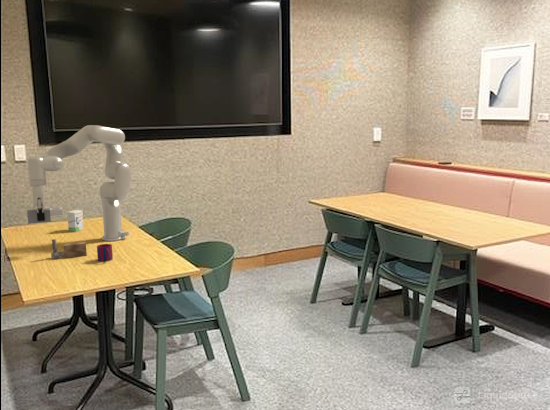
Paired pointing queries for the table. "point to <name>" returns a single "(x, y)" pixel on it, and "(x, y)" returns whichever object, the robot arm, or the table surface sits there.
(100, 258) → the mug
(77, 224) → the ink box
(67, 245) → the walnut hinge leaf
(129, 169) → the robot arm
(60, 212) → the charcoal hinge leaf
